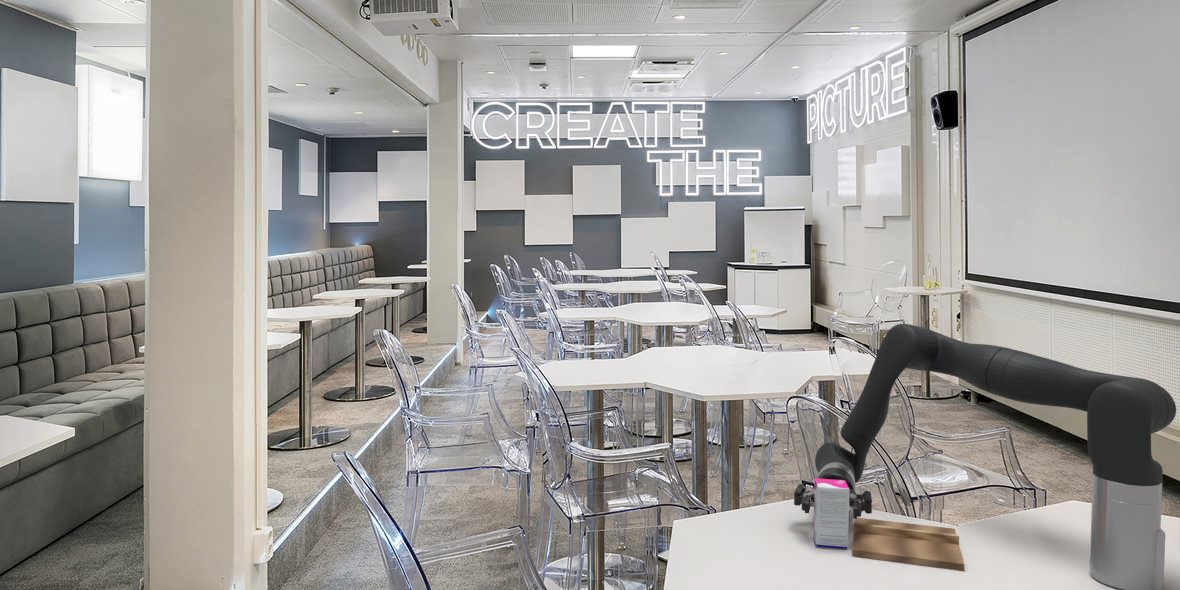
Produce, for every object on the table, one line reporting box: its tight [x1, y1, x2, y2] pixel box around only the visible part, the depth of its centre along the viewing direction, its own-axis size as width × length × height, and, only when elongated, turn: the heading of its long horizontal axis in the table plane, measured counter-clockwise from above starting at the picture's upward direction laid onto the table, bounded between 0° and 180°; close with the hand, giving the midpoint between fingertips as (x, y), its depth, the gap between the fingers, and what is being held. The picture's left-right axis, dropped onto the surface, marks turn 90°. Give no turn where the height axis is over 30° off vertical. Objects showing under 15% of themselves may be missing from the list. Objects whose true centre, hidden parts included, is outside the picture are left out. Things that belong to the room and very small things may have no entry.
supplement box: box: [812, 477, 850, 551], centre depth 138 cm, size 6×6×12 cm
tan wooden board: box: [851, 517, 965, 572], centre depth 137 cm, size 18×17×3 cm
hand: (830, 511), depth 137 cm, fingers open, 8 cm apart
